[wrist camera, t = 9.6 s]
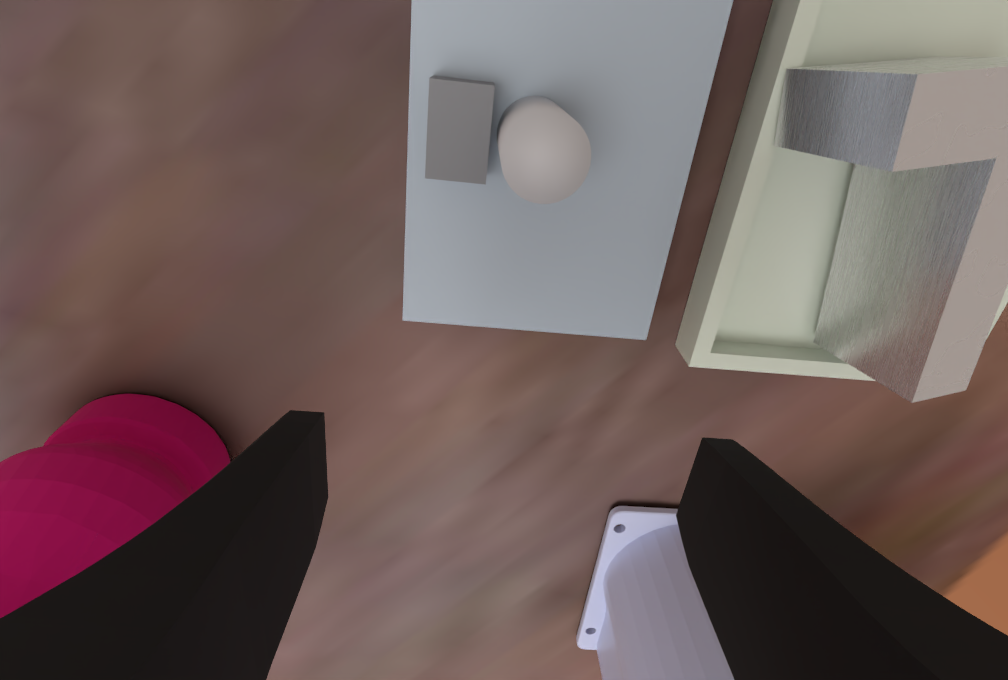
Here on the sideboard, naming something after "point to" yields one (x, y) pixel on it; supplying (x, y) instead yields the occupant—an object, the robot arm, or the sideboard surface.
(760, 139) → the tray
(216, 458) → the pepper mill
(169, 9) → the sideboard surface
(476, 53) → the vise block
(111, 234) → the sideboard surface
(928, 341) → the hook
